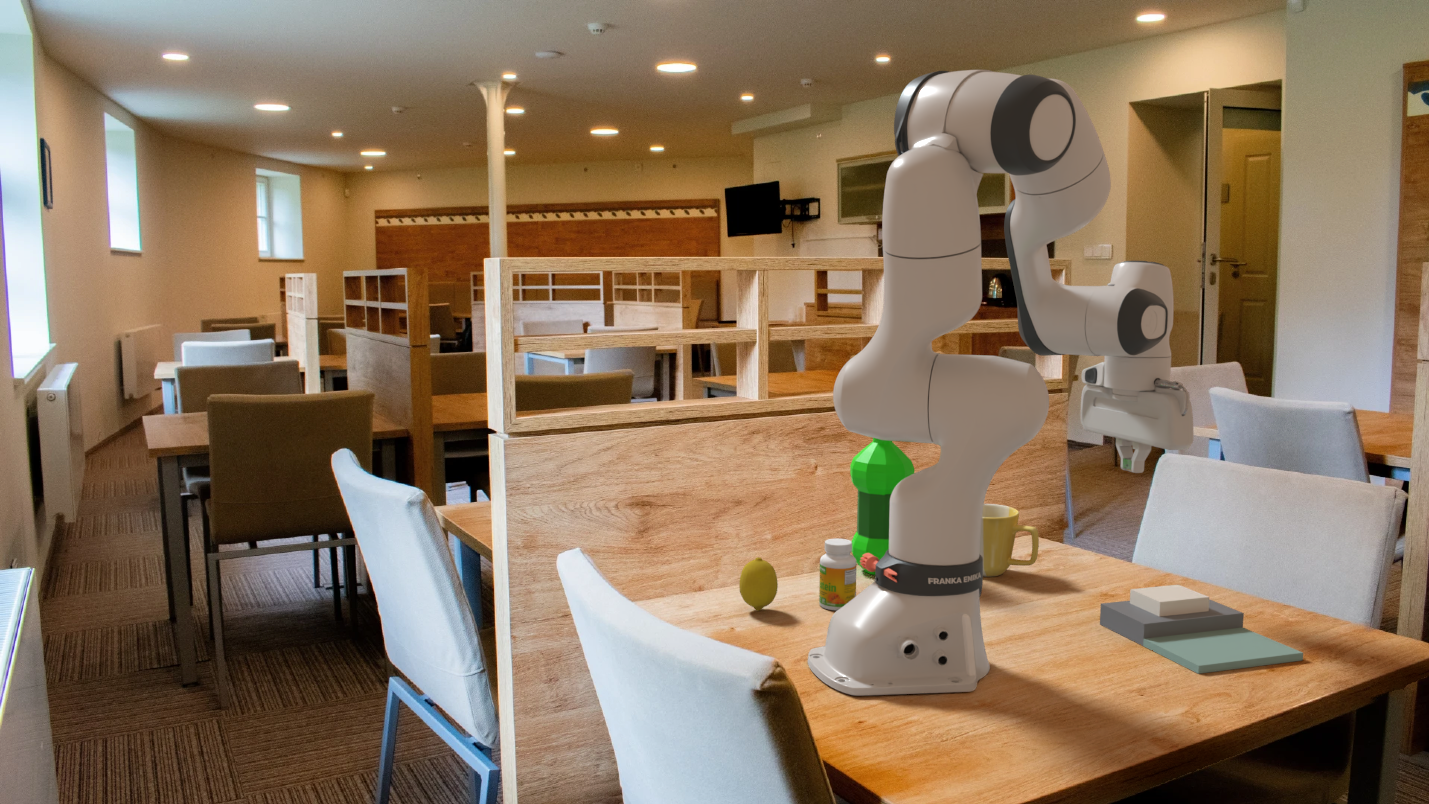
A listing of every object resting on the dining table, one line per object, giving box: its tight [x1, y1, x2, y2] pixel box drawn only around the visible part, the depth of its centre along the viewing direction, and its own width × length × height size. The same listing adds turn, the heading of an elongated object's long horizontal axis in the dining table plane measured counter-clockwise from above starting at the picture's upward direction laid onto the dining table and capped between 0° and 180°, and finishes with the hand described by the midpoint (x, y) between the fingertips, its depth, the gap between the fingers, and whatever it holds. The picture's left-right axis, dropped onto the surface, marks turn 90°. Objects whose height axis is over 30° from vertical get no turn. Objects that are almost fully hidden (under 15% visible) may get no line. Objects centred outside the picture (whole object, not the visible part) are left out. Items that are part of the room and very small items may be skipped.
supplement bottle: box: [818, 537, 858, 612], centre depth 153 cm, size 5×5×10 cm
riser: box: [1099, 598, 1245, 647], centre depth 143 cm, size 16×9×3 cm, turn 106°
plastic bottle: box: [849, 438, 915, 576], centre depth 170 cm, size 10×10×25 cm
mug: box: [980, 503, 1040, 577], centre depth 169 cm, size 14×10×10 cm
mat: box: [1142, 626, 1304, 675], centre depth 134 cm, size 16×10×1 cm, turn 106°
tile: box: [1129, 584, 1210, 617], centre depth 143 cm, size 8×6×2 cm
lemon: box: [738, 556, 778, 612], centre depth 151 cm, size 6×6×8 cm
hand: (1132, 471), depth 150 cm, fingers closed
